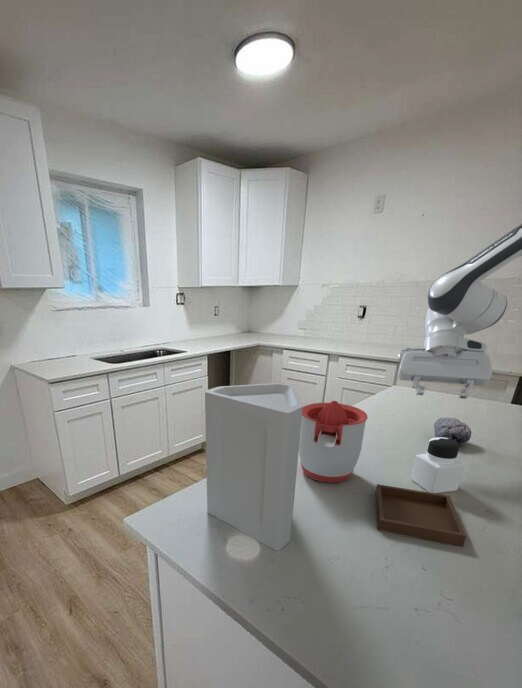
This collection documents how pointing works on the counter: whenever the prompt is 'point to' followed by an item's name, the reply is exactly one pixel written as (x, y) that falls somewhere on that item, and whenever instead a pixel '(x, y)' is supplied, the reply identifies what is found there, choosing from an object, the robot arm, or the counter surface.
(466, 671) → the counter surface
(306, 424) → the citrus juicer
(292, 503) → the triangular white caddy
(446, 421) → the pumice stone
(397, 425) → the counter surface
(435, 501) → the tray
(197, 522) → the counter surface
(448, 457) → the medicine bottle
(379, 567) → the counter surface
